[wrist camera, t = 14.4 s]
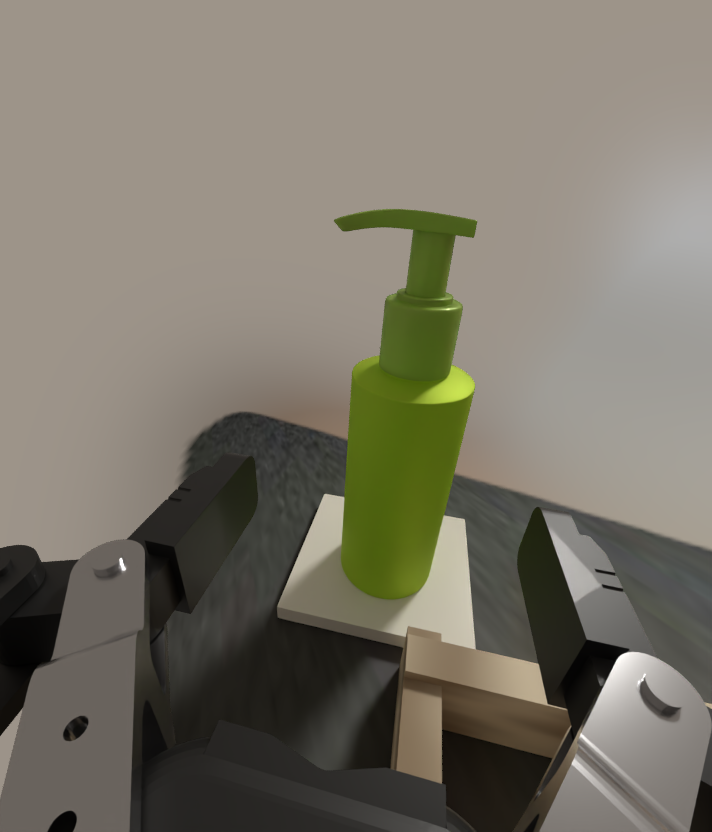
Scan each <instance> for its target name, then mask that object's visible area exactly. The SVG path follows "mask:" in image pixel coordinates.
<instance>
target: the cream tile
mask: <svg viewBox="0 0 712 832" xmlns="http://www.w3.org/2000/svg"><path fill="white" fill-rule="evenodd" d="M343 512H344V497H339V496H334V495H328V494H324V497H323V499H322V501H321V504H320V506H319V508H318V511H317V513H316V515H315V518H314V520H313V523H312V525H311V527H310V530H309V532H308V534H307V537H306V539H305V542H304V544H303V546H302V549H301V551H300V553H299V556H298V558H297V561H296V563H295V565H294V568H293V570H292V572H291V575H290V577H289V579H288V582H287V584H286V587H285V589H284V591H283V594H282V596H281V598H280V601H279V603H278V606H277V615H278V618H281V619H285V620H289V621H293V622H298V623H302V624H306V625H310V626H315V627H319V628H323V629H327V630H331V631H336V632H340V633H344V634H348V635H352V636H357V637H361V638H365V639H369V640H373V641H378V642H382V643H386V644H390V645H395V646H399V647H404V642H405V638H406V633H407V628H408V626H410V627H415V628H419V629H423V630H428V631H432V632H437V633H441V642H446V643H450V644H454V645H458V646H463V647H467V648H471V649H475V637H474V625H473V613H472V601H471V589H470V577H469V565H468V552H467V540H466V528H465V519H460V518H454V517H449V516H444V517H443V521H442V525H441V529H440V533H439V537H438V541H437V545H436V549H435V554H434V558H433V562H432V566H431V570H430V574H429V577H428V579H427V581H426V583H425V584H424V585H423V587H422V588H421V589H420V590H418V591H417V592H416V593H414V594H412V595H410V596H408V597H405V598H400V599H381V598H377V597H373V596H371V595H368V594H366V593H364V592H363V591H361V590H359V589H358V588H357V587H356V586H354V585H353V584H352V583H351V581H350V580H349V579H348V578H347V576H346V574H345V572H344V570H343V568H342V564H341V544H342V528H343Z"/></svg>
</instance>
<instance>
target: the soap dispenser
mask: <svg viewBox="0 0 712 832" xmlns="http://www.w3.org/2000/svg"><path fill="white" fill-rule="evenodd" d="M334 222H335V223H336V224H337V225H338V227H339V228H340V229H341V230H342V231H352V230H358V229H364V228H375V227H392V228H404V229H413V237H412V245H411V253H410V261H409V269H408V277H407V285H406V288H404V289H400V290H398V291H397V293H396V294H392V295H389V296H388V297H387V298H386V301H385V309H384V318H383V328H382V338H381V348H380V356H374V357H371V358H368V359H365V360H362V361H361V362H359V363H358V364H357V365H356V366H355V367H354V368H353V371H352V384H351V400H350V415H349V432H348V448H347V464H346V480H345V496H344V512H343V528H342V544H341V564H342V568H343V570H344V572H345V574H346V576H347V578H348V579H349V580H350V581H351V583H352V584H353V585H354V586H356V587H357V588H358V589H359V590H361V591H363V592H364V593H366V594H368V595H371V596H373V597H377V598H381V599H400V598H405V597H408V596H410V595H412V594H414V593H416V592H417V591H418V590H420V589H421V588H422V587H423V585H424V584H425V583H426V581H427V579H428V577H429V574H430V570H431V566H432V562H433V558H434V554H435V549H436V545H437V541H438V537H439V533H440V529H441V525H442V521H443V517H444V513H445V509H446V505H447V500H448V496H449V492H450V488H451V484H452V480H453V476H454V472H455V468H456V464H457V460H458V455H459V451H460V447H461V443H462V439H463V435H464V431H465V427H466V423H467V419H468V415H469V411H470V406H471V402H472V398H473V394H474V390H475V383H474V381H473V379H472V378H471V377H470V376H469V375H468V374H467V373H466V372H464V371H463V370H461V369H460V368H458V367H456V366H454V365H452V360H453V355H454V350H455V345H456V340H457V335H458V330H459V325H460V320H461V316H462V310H463V306H462V304H461V303H460V302H458V301H456V300H454V299H453V296H452V295H451V294H449V293H446V287H447V281H448V276H449V270H450V264H451V258H452V253H453V247H454V241H455V236H456V235H458V236H466V237H472V238H473V237H474V235H475V230H476V225H477V221H476V220H472V219H466V218H461V217H456V216H451V215H445V214H439V213H433V212H426V211H417V210H405V209H382V210H372V211H365V212H359V213H355V214H351V215H346V216H343V217H340V218H337V219H335V220H334Z"/></svg>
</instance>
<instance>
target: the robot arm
mask: <svg viewBox="0 0 712 832" xmlns="http://www.w3.org/2000/svg"><path fill="white" fill-rule="evenodd" d="M257 501H258V493H257V481H256V469H255V461H254V458H253V457H252V456H247V455H241V454H235V453H230V452H228V453H225V454H224V455H223V456H222V457H221V458H220V459H219V460H218V462H217V463H216V464H215V465H214V466H213V467H211V466H206V467H204V468H202V469H200V470H199V471H197V472H195V473H193V474H191V475H190V476H189V477H188V478H187V479H186V480H185V481H184V482H183V483H182V484H181V485H180V486H179V487H178V490H175V491H174V492H173V493H172V494H171V495H170V496H169V498H168V500H165V501H164V502H163V503H162V504H161V505H160V506H159V507H158V508H157V509H156V510H155V511H154V512H153V513H152V514H151V515H150V516H149V517H148V518H147V519H146V520H145V522H143V523H142V524H141V525H140V527H138V529H136V531H135V532H134V533H133V534H132V535H131V536H130V537H129V538H128V539H126V540H124V539H123V540H116V541H111V542H107V543H105V544H102V545H100V546H98V547H96V548H94V549H92V550H91V551H89V552H87V554H85V555H84V556H82V557H81V558H80V559H79V560H66V561H52V562H41V560H40V558H39V556H38V554H37V552H36V551H35V549H34V548H31V547H29V546H25V545H14V546H7V547H3V548H0V736H1V734H2V733H3V732H4V731H5V729H6V728H7V727H8V726H9V724H10V723H11V722H12V721H13V719H14V718H15V717H16V716H17V714H18V713H19V712H20V711H21V709H22V708H23V710H22V715H21V718H20V723H19V726H18V730H17V734H16V738H15V743H14V746H13V750H12V754H11V758H10V762H9V766H8V770H7V774H6V778H5V783H4V787H3V790H2V794H1V798H0V832H476V831H475V830H474V829H473V827H472V826H471V825H470V824H469V823H468V822H466V821H465V820H464V819H463V818H462V817H461V816H460V815H458V814H457V813H456V812H455V811H453V810H452V809H451V808H449V807H448V806H446V785H445V784H441V783H438V782H434V781H431V780H427V779H424V778H421V777H417V776H414V775H410V774H407V773H403V772H400V771H396V770H393V769H389V768H369V769H351V770H333V771H327V770H322V769H320V768H318V767H317V766H315V765H314V764H312V763H311V762H309V761H308V760H307V759H305V758H304V757H302V756H301V755H300V754H298V753H297V752H295V751H294V750H293V749H291V748H290V747H288V746H287V745H286V744H284V743H283V742H281V741H280V740H279V739H277V738H276V737H274V736H273V735H272V734H269V733H265V732H262V731H258V730H255V729H251V728H248V727H245V726H241V725H238V724H234V723H231V722H227V721H224V720H220V719H219V721H218V723H217V725H216V728H215V730H214V732H213V734H212V737H204V738H199V739H195V740H190V741H187V742H185V743H182V744H179V745H176V739H175V730H174V723H173V718H172V712H171V703H170V682H169V656H168V631H167V623H166V622H167V620H168V619H169V618H170V616H171V615H172V613H173V612H174V610H176V611H181V612H185V613H189V614H191V613H192V611H193V609H194V608H195V606H196V605H197V603H198V602H199V600H200V598H201V597H202V595H203V594H204V592H205V591H206V589H207V587H208V586H209V584H210V583H211V581H212V580H213V578H214V576H215V575H216V573H217V572H218V570H219V569H220V567H221V565H222V564H223V562H224V561H225V559H226V558H227V556H228V555H229V553H230V551H231V550H232V548H233V547H234V545H235V544H236V542H237V540H238V539H239V537H240V536H241V534H242V533H243V531H244V529H245V528H246V526H247V525H248V523H249V522H250V520H251V518H252V517H253V515H254V513H255V510H256V506H257ZM517 565H518V573H519V577H520V582H521V586H522V591H523V596H524V600H525V605H526V609H527V614H528V618H529V623H530V627H531V632H532V636H533V641H534V645H535V650H536V654H537V659H538V663H539V668H540V672H541V677H542V681H543V686H544V690H545V695H546V699H547V704H548V705H552V706H556V707H560V708H565V709H567V711H568V715H569V719H570V723H571V726H570V727H569V729H568V730H567V732H566V734H565V736H564V738H563V740H562V742H561V743H560V745H559V747H558V749H557V751H556V753H555V755H554V757H553V759H552V761H551V763H550V765H549V767H548V769H547V771H546V772H545V774H544V776H543V778H542V780H541V782H540V784H539V786H538V788H537V790H536V792H535V794H534V796H533V798H532V800H531V801H530V803H529V805H528V807H527V809H526V811H525V812H524V814H523V816H522V818H521V819H520V821H519V822H518V824H517V826H516V827H515V829H514V831H513V832H712V709H711V708H709V707H707V706H706V705H705V703H704V701H703V699H702V698H701V696H700V695H699V693H698V692H697V691H696V690H695V688H694V687H693V686H692V685H691V684H690V683H689V682H688V681H687V680H686V679H685V678H684V677H683V676H682V675H681V674H680V673H679V672H677V671H676V670H675V669H673V668H672V667H671V666H669V665H668V664H666V663H664V662H663V661H661V660H659V659H658V657H657V655H656V653H655V651H654V649H653V647H652V645H651V643H650V641H649V639H648V637H647V635H646V633H645V631H644V629H643V627H642V625H641V623H640V621H639V619H638V617H637V615H636V613H635V611H634V609H633V607H632V605H631V603H630V601H629V599H628V597H627V595H626V593H624V592H623V587H622V585H621V583H620V581H619V579H618V577H617V576H615V571H614V569H613V567H612V565H611V563H610V561H609V559H608V557H607V555H606V553H605V552H604V551H603V550H602V549H601V548H600V547H599V546H598V545H597V544H596V543H595V542H594V541H593V540H592V539H591V538H590V537H589V536H585V535H580V534H579V533H578V530H577V528H576V526H575V524H574V521H573V519H572V517H571V515H570V514H569V513H568V512H563V511H558V510H552V509H546V508H540V507H537V508H535V509H534V511H533V513H532V516H531V518H530V521H529V523H528V526H527V529H526V531H525V534H524V536H523V539H522V542H521V544H520V547H519V551H518V559H517Z"/></svg>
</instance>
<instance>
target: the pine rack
mask: <svg viewBox="0 0 712 832" xmlns="http://www.w3.org/2000/svg"><path fill="white" fill-rule="evenodd" d="M704 703H705V702H704ZM705 705H706V706H707V707H709V708H711V709H712V704H709V703H705ZM570 726H571V723H570V719H569V715H568V711H567V709H565V708H560V707H556V706H552V705H548V704H547V699H546V695H545V690H544V686H543V681H542V677H541V672H540V668H539V664H536V663H532V662H528V661H523V660H519V659H515V658H510V657H506V656H502V655H497V654H493V653H489V652H484V651H480V650H476V649H471V648H467V647H463V646H458V645H454V644H450V643H446V642H441V633H437V632H432V631H428V630H423V629H419V628H415V627H410V626H408V628H407V633H406V638H405V642H404V647H403V652H402V657H401V662H400V667H399V678H398V689H397V700H396V711H395V722H394V733H393V744H392V755H391V766H390V769H393V770H396V771H400V772H403V773H407V774H410V775H414V776H417V777H421V778H424V779H427V780H431V781H434V782H438V783H441V784H442V729H443V730H447V731H451V732H454V733H458V734H462V735H466V736H469V737H473V738H477V739H481V740H485V741H488V742H492V743H496V744H500V745H503V746H507V747H511V748H515V749H518V750H522V751H526V752H530V753H533V754H537V755H541V756H545V757H549V758H552V759H553V757H554V755H555V753H556V751H557V749H558V747H559V745H560V743H561V742H562V740H563V738H564V736H565V734H566V732H567V730H568V729H569V727H570Z"/></svg>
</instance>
